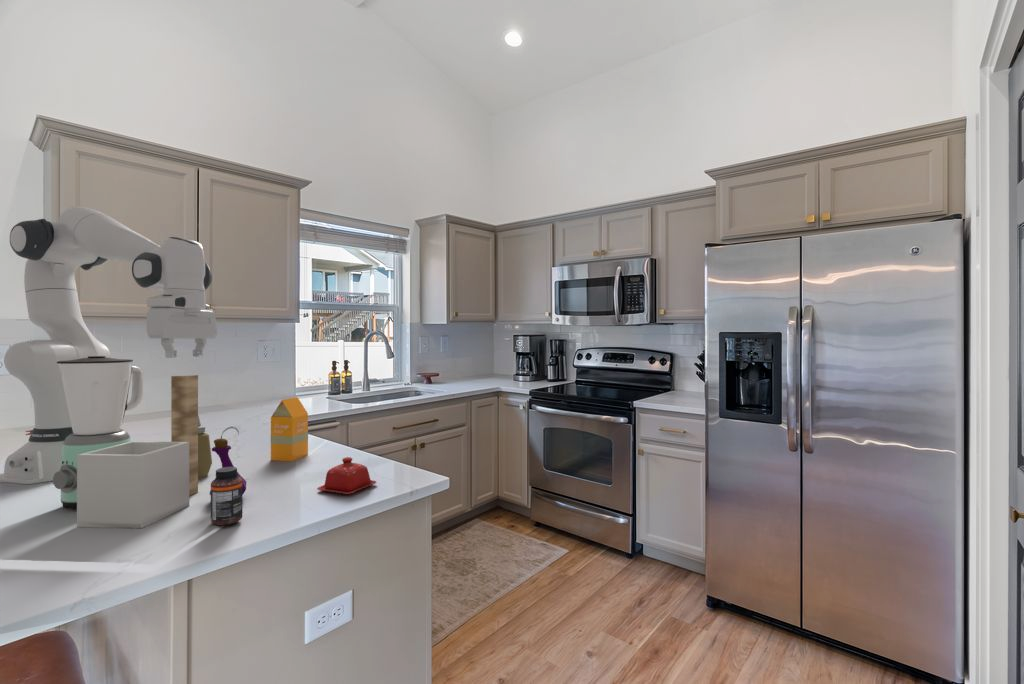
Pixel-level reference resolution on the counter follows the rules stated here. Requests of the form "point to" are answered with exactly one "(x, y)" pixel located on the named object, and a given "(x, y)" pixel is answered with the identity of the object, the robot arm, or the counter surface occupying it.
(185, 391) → the long wooden block
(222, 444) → the potion bottle
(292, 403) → the orange juice
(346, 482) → the butter dish
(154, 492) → the bin
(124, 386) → the blender
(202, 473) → the squeeze bottle
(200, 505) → the counter surface
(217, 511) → the supplement bottle
